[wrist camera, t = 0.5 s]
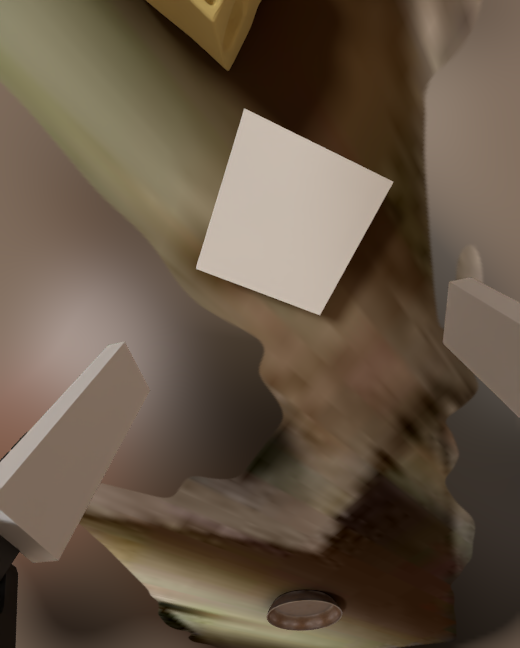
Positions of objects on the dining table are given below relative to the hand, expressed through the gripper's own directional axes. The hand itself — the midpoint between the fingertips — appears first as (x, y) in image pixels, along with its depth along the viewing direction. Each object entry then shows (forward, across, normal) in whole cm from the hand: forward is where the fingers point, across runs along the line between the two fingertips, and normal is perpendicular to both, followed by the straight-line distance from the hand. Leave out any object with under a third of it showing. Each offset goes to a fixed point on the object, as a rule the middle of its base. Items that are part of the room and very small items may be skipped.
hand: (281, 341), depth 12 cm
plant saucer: (+23, -11, -101) cm, 104 cm away
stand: (+25, +2, +1) cm, 25 cm away
